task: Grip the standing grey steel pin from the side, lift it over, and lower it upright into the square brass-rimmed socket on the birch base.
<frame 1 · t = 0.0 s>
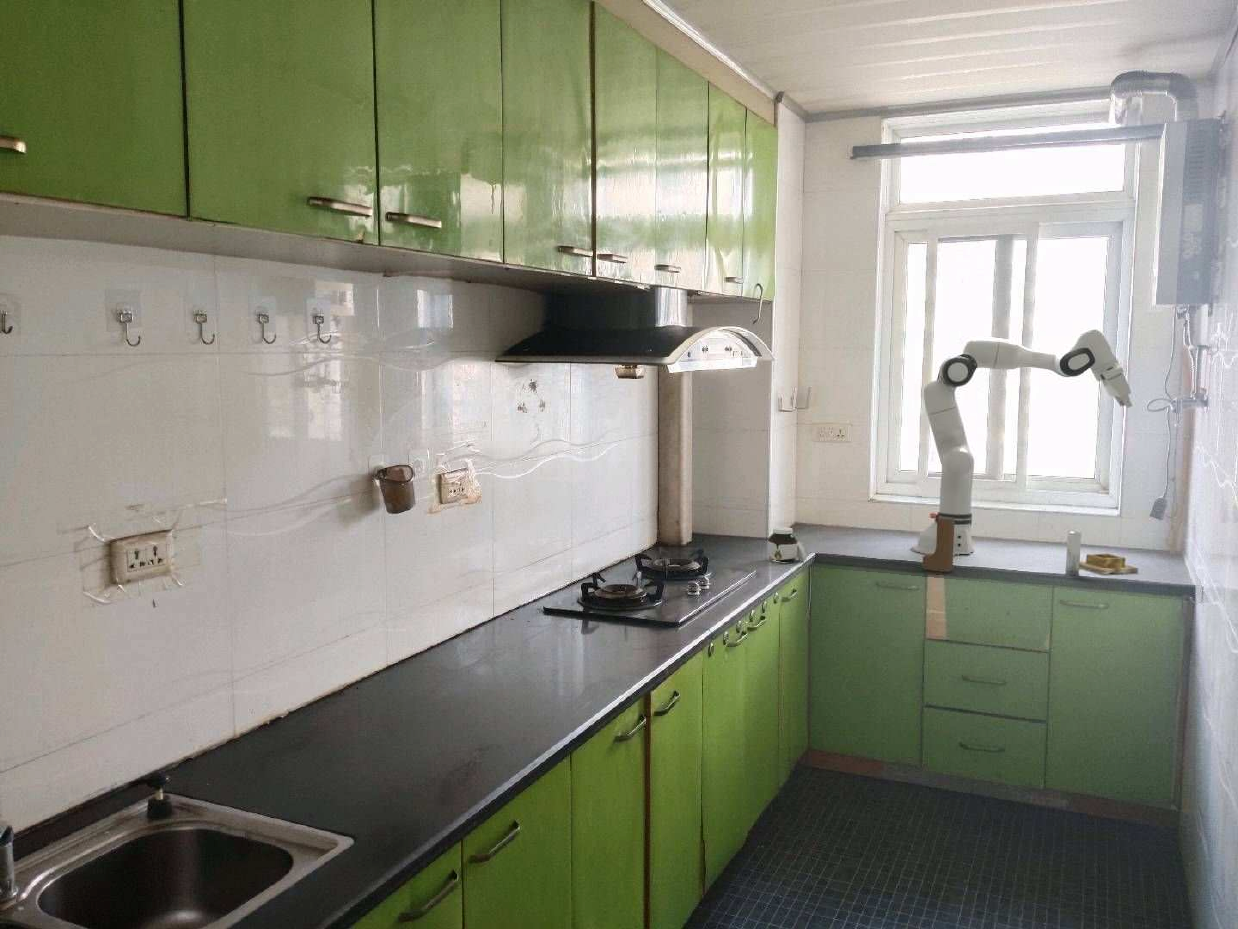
hand: (1126, 406, 350), 54 cm above the countertop, tool tilted 30°, fingers open, 8 cm apart
steel pin: (1072, 574, 329), on the countertop
wooden block: (937, 570, 335), on the countertop
socket block: (1105, 569, 337), on the countertop
spread jar: (787, 561, 350), on the countertop
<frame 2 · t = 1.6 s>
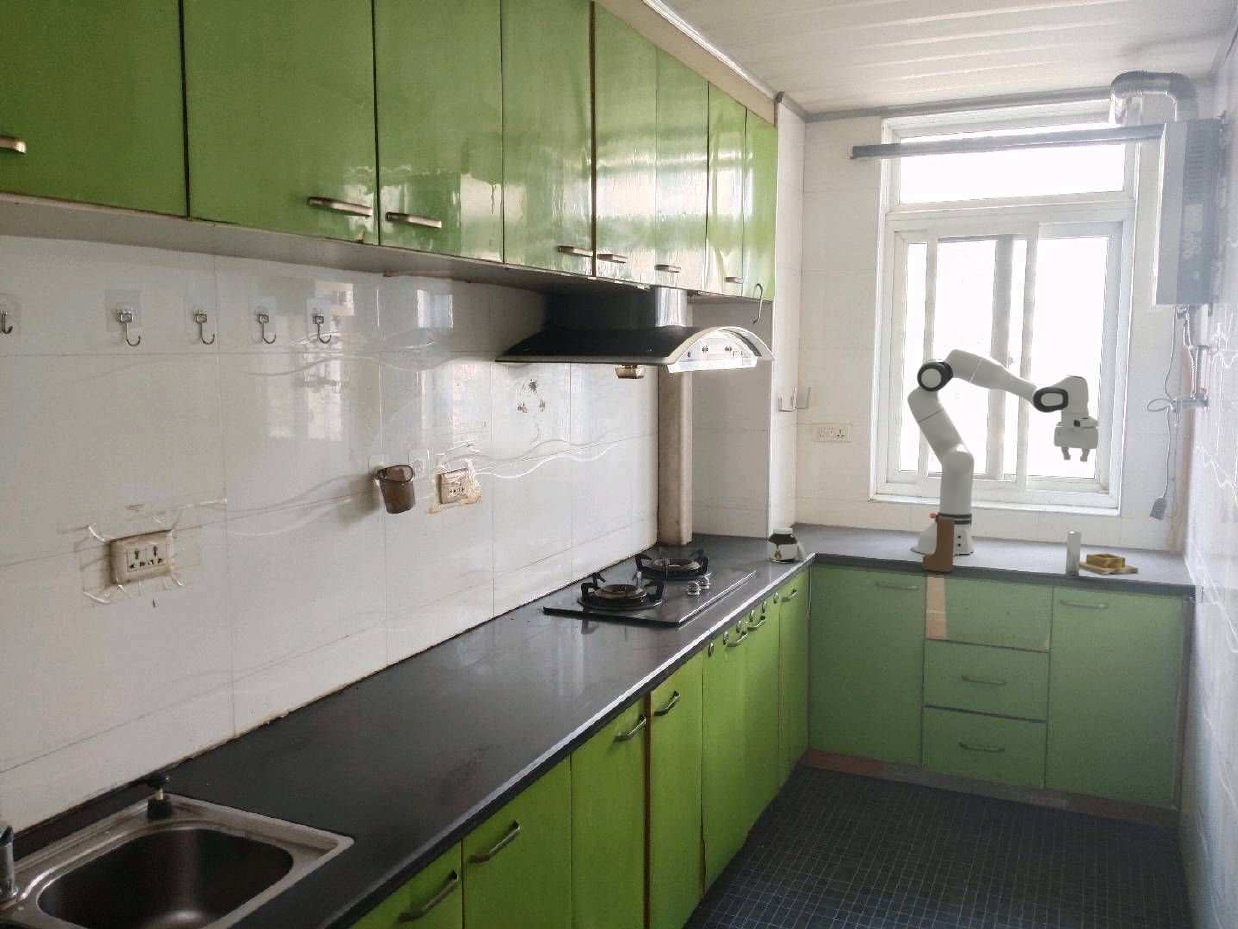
hand: (1075, 460, 349), 35 cm above the countertop, tool pointing down, fingers open, 8 cm apart
nothing on the countertop moved.
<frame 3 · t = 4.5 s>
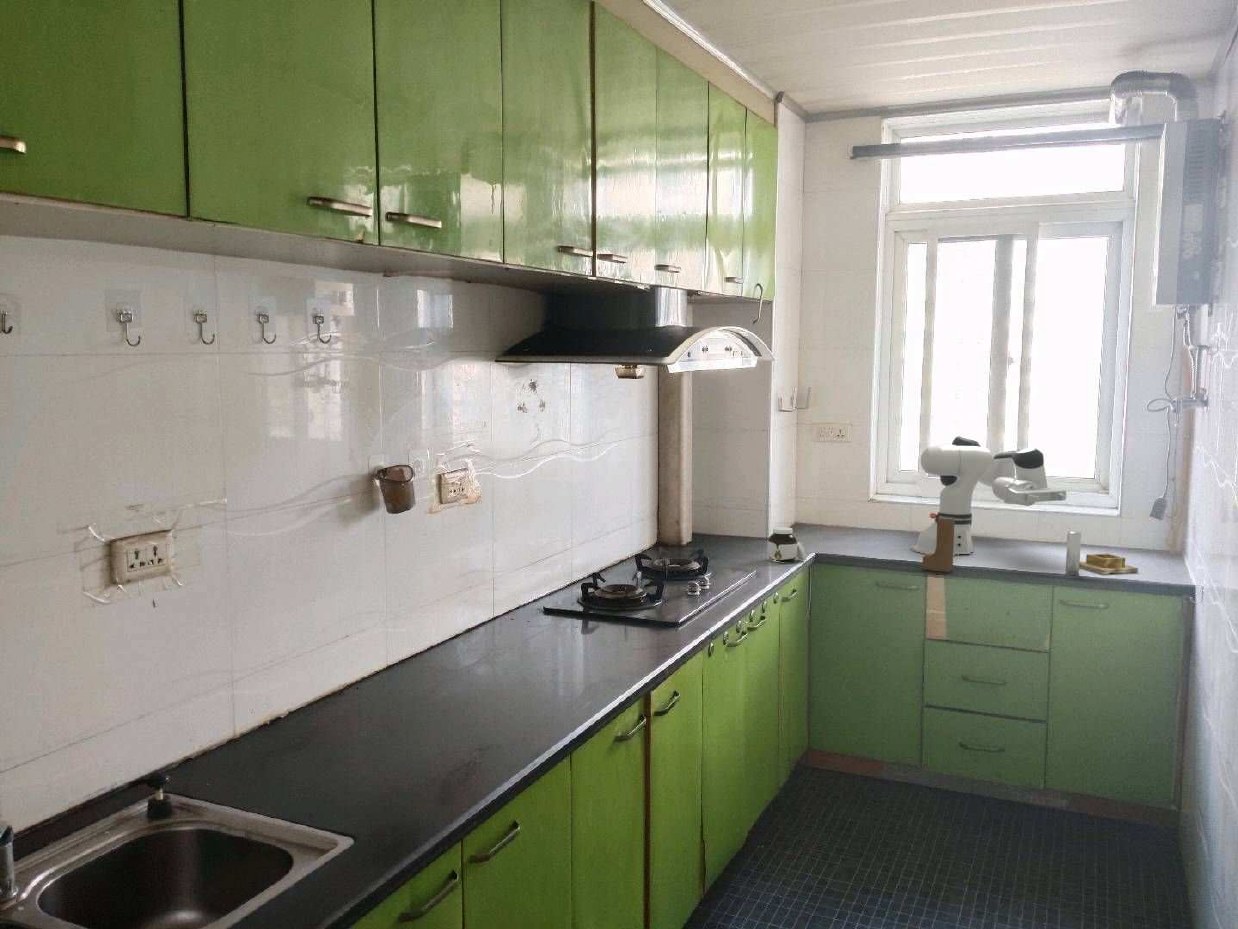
hand: (1051, 498, 338), 24 cm above the countertop, tool horizontal, fingers open, 8 cm apart
nothing on the countertop moved.
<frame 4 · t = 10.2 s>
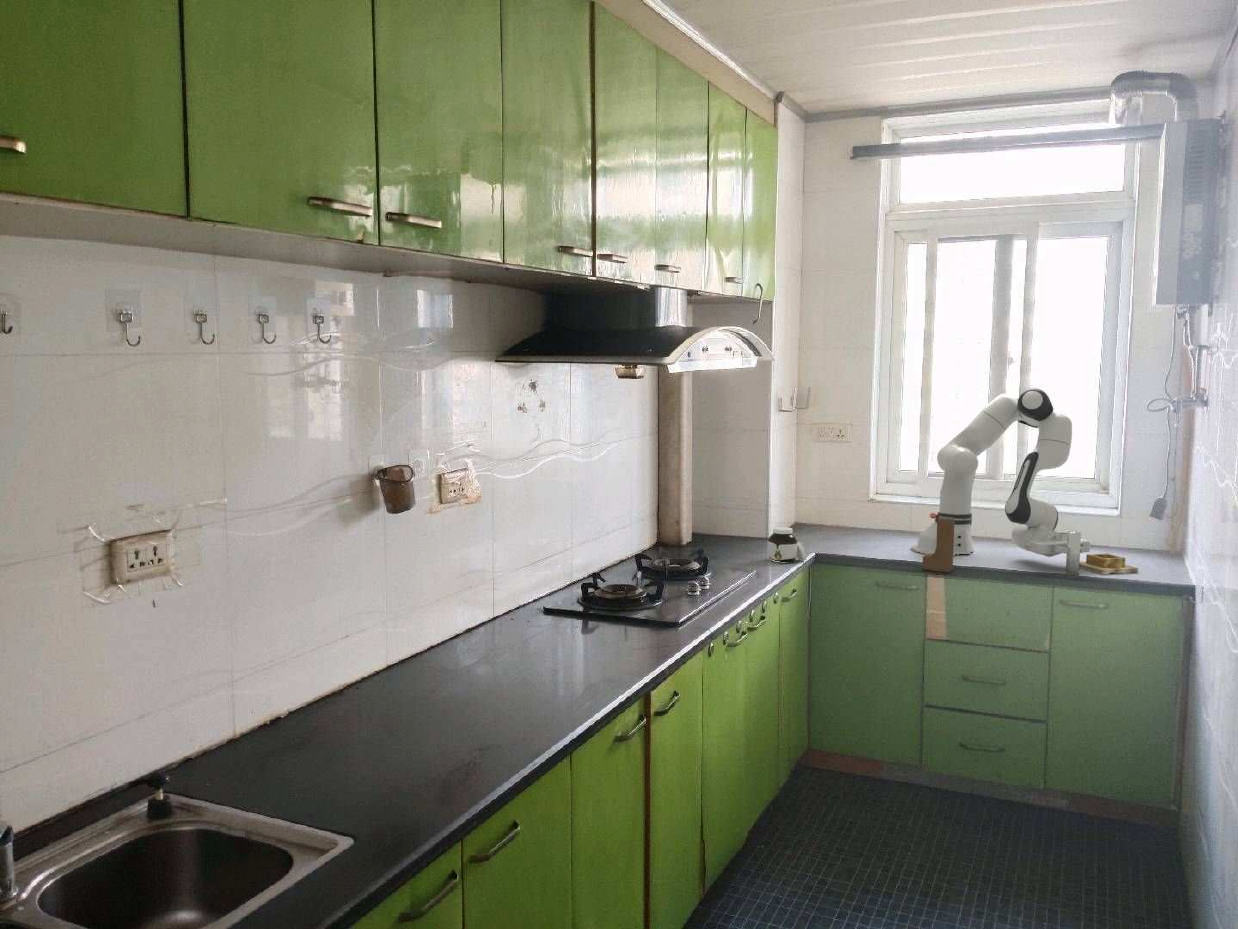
hand: (1075, 550, 328), 8 cm above the countertop, tool horizontal, fingers closed on steel pin, 4 cm apart
steel pin: (1072, 574, 329), on the countertop, touching gripper
everything else where it was.
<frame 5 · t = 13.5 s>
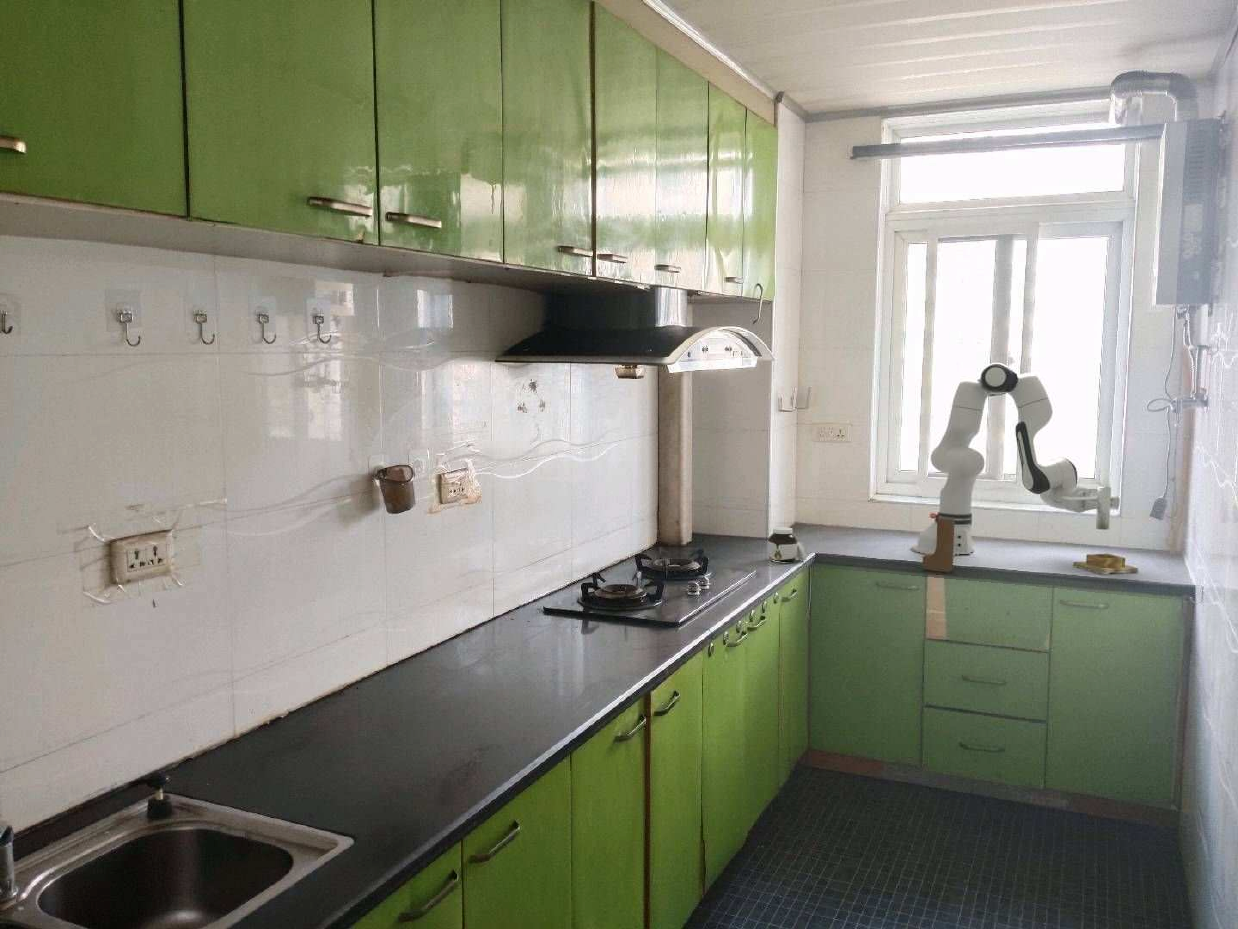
hand: (1105, 505, 332), 22 cm above the countertop, tool horizontal, fingers closed on steel pin, 4 cm apart
steel pin: (1102, 528, 334), point 14 cm above the countertop, touching gripper
everything else where it was.
when the fingers open (11 cm above the countertop, at t = 16.8 s): steel pin drops 1 cm, resting on socket block.
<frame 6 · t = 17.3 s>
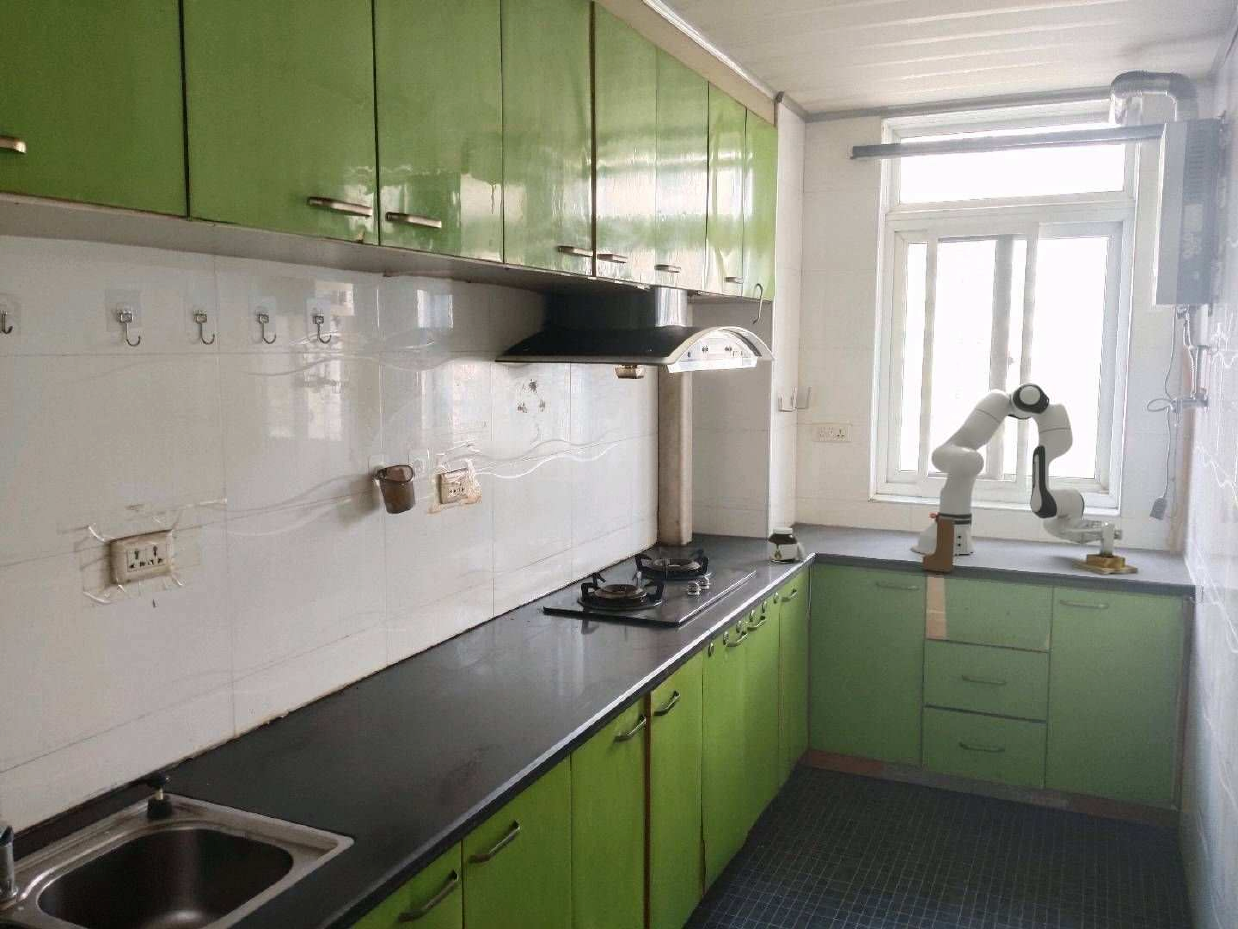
hand: (1108, 537, 335), 11 cm above the countertop, tool horizontal, fingers open, 8 cm apart
steel pin: (1105, 564, 337), point 2 cm above the countertop, touching socket block
everything else where it was.
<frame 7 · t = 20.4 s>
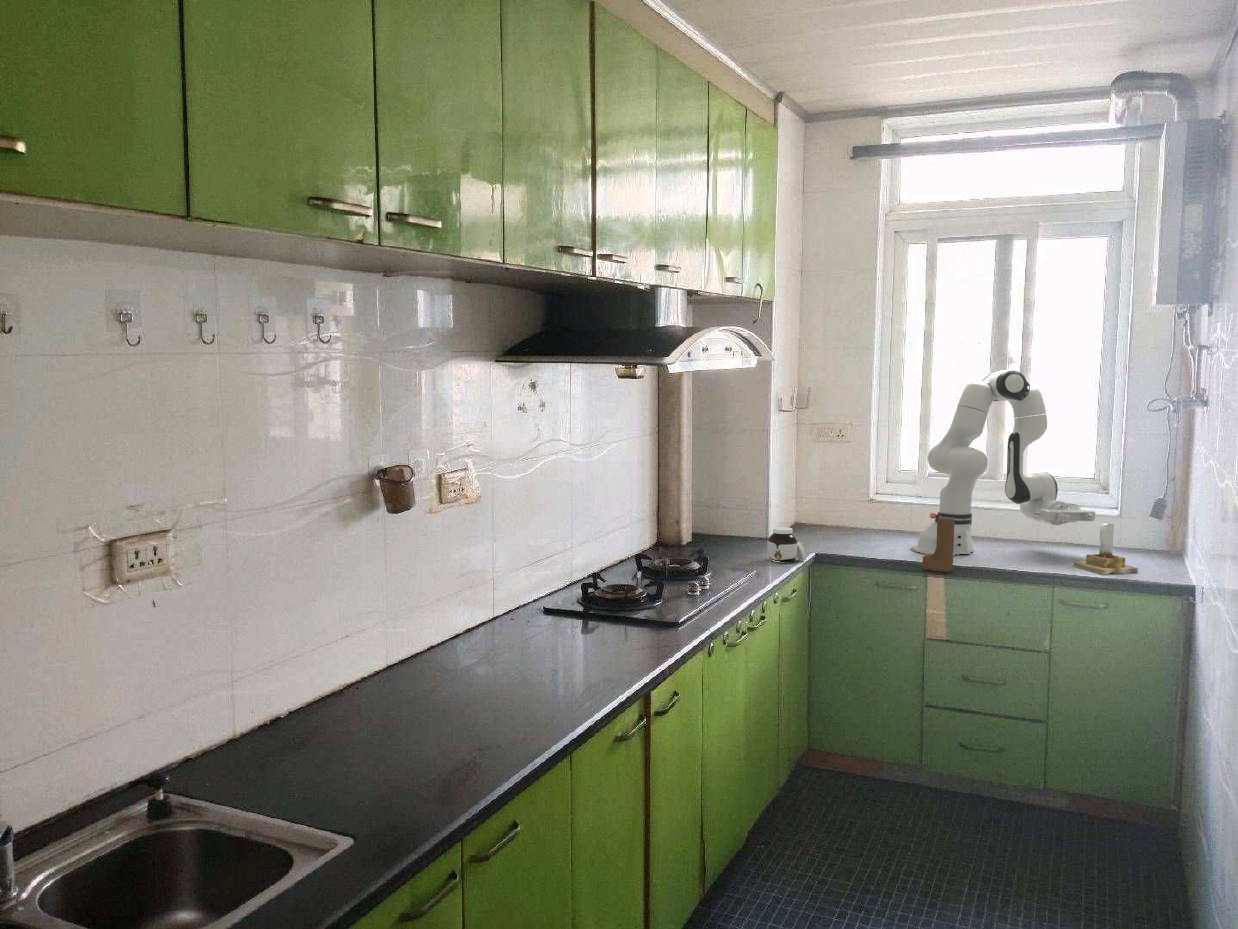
hand: (1081, 518, 347), 16 cm above the countertop, tool horizontal, fingers open, 8 cm apart
nothing on the countertop moved.
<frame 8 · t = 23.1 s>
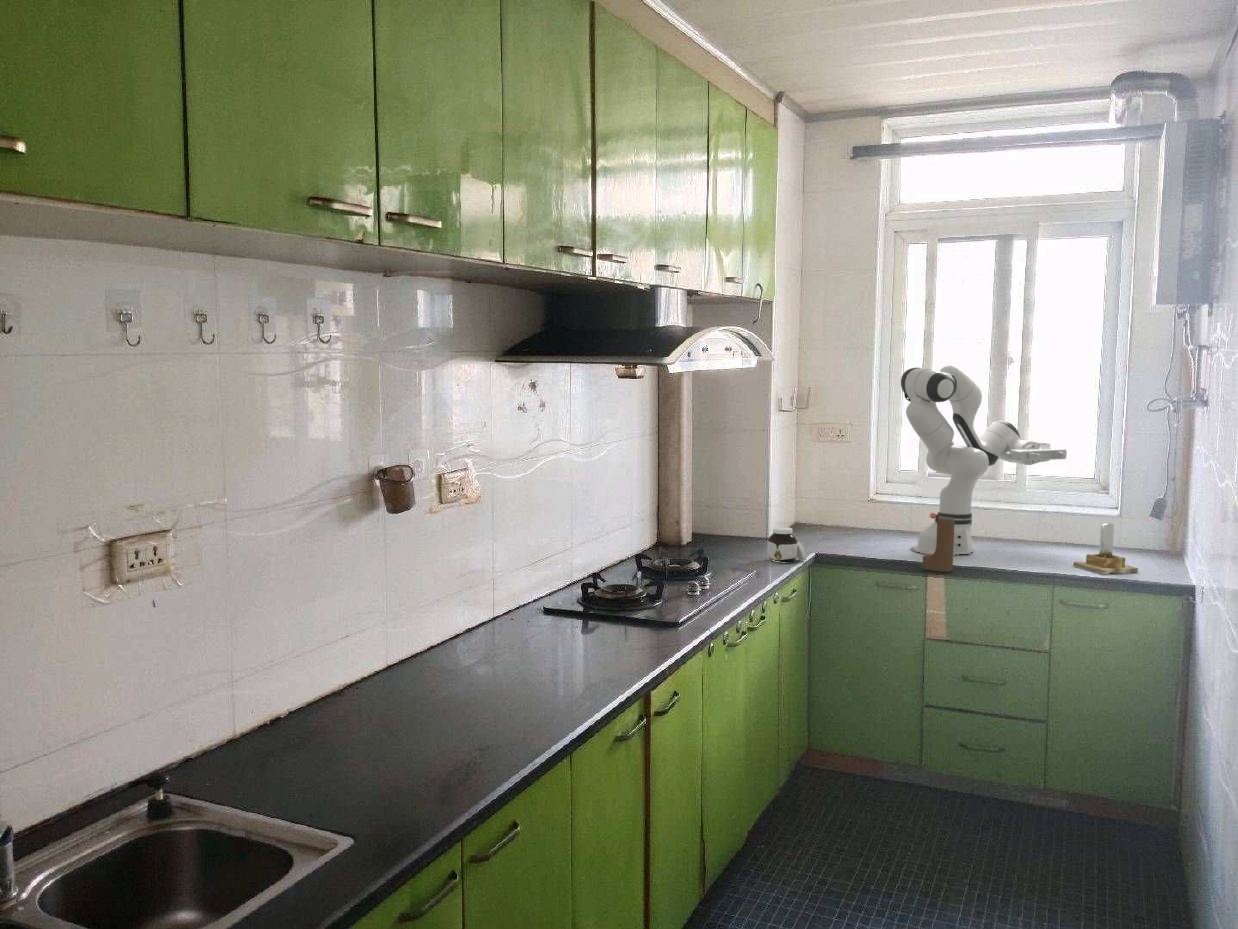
hand: (1052, 456, 352), 37 cm above the countertop, tool horizontal, fingers open, 8 cm apart
nothing on the countertop moved.
at the end: steel pin 0.0 cm from the socket block (horizontally); steel pin point 1.5 cm above the countertop; steel pin tilted 1° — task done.
